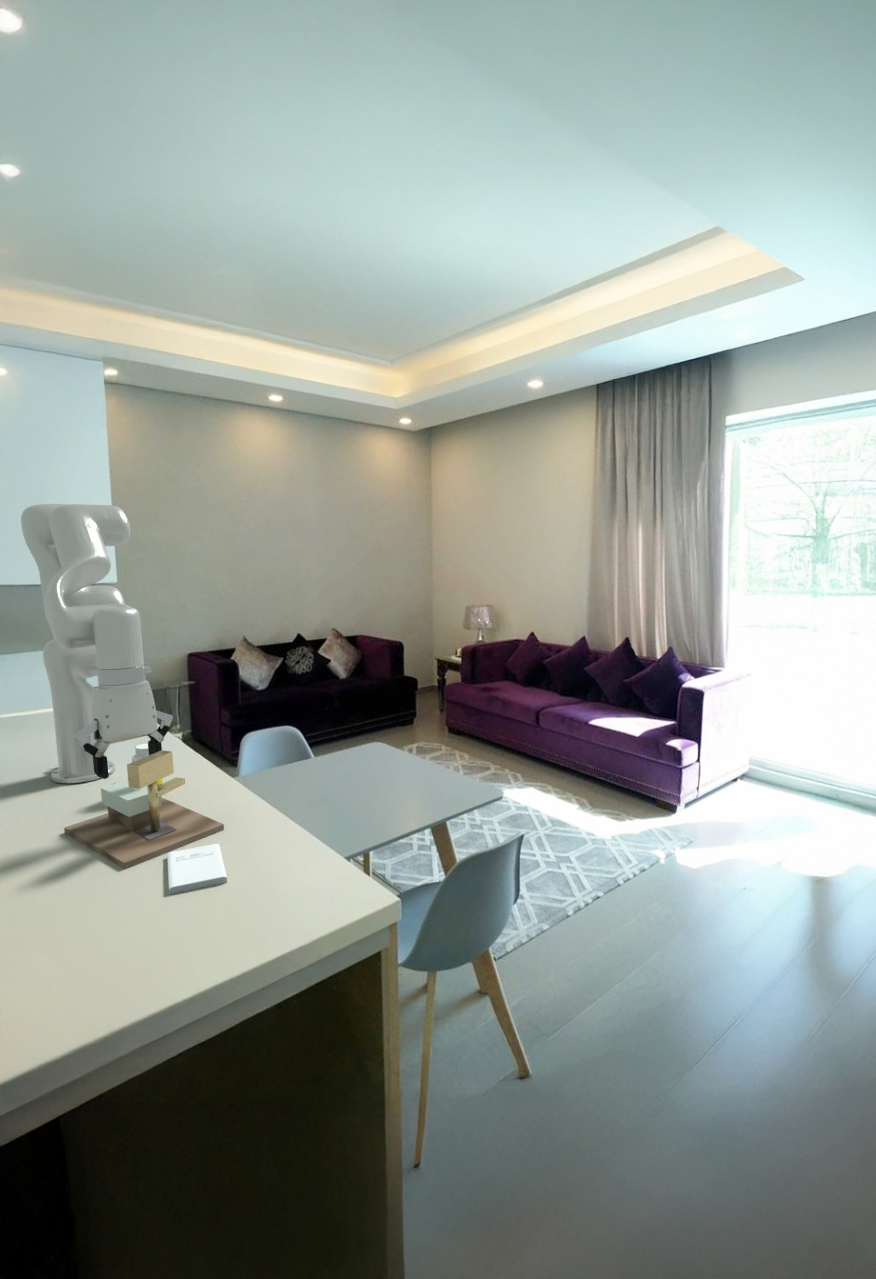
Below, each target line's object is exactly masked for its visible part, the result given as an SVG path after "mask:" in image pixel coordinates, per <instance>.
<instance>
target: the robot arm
mask: <svg viewBox="0 0 876 1279" xmlns="http://www.w3.org/2000/svg"><path fill="white" fill-rule="evenodd" d="M20 516H21V517H20V525H21V531H22V534H23V540H24V541H25V544H26V546H27V548H28V550H29V552H30V554H31V556H32V557H33V560H34V562H35V563H36V566H37V568H38V569H37V570H38V573H39V580H40V586H41V587H40V589H41V595H42V601H43V602H42V603H43V608H44V609H43V610H44V613H45V614H44V615H45V619H46V621H47V624H48V625H49V627H50V630H51V633H52V636H53V639H51V640H49V641H48V642H47V643H46V644H45V645H44V647H43V650H42V659H43V664H44V668H45V670H46V675H47V679H48V683H49V689H50V693H51V694H50V695H51V702H52V710H53V711H52V712H53V721H54V722H53V723H54V732H55V743H56V753H57V754H56V755H57V762H58V768H55V770H54V771H52V772H51V774H50V776H51V780H52V781H53V782H55V783H59V784H77V783H79V784H80V783H87V782H90V781H96V780H98V779H102V780H106V779H108V778H109V776H110V775H111V774H112V773H113V772H114V771H115V769H116V766H115V763H114V762H112V761H110V760H108V756H107V749H108V748H109V746H110V745H111V744H112V745H113V744H117V743H122V742H125V741H129V740H134V739H137V738H142V737H148V739H150V740H148V741H147V743H148V751H149V755H151V754H154V753H156V752H159V751H161V750H162V751H163V748H162V742H164V741H165V736H166V735H167V734H168V732H169V731H170V727H171V724H172V721H173V719H174V717H173V715H172V714H170V713H166V712H164V711H159V710H157V709H156V708H157V707H156V703H155V699H154V695H153V694H154V693H153V691H152V688H151V684H150V682H149V681H148V680H147V675H148V674H151V673H152V667H151V666H150V665H146V664H145V660H144V659H145V658H144V650H143V648H144V647H143V639H142V638H143V636H142V624H141V616H140V612H139V610H138V609H136V607H132V606H130V605H129V604H126V602H125V599H124V596H123V594H122V592H121V591H120V590H119V589H118V588H117V587H115V586H112V585H106V584H105V585H94V584H96V583H98V582H100V581H102V580H103V579H104V578H105V577H106V576H107V575H108V574H109V573H110V572H111V567H112V564H111V563H112V562H111V559H110V556H109V553H108V551H107V548H106V547H123V546H125V545H127V544H128V542H129V540H130V538H131V524H130V521H129V519H128V518H129V517H128V516H127V515H126V513H125V511H124V510H123V509H122V508H120V507H119V506H116V505H109V504H105V505H104V504H83V503H82V504H80V503H79V504H77V503H74V504H73V503H71V504H69V503H68V504H67V503H42V504H33V505H30V506H28V507H26V508H25V509H24V510H23V511H22V513H21V515H20ZM93 677H97V682H98V684H97V686H93V685H92V684H91V683H90V682H88V681H87V679H89V678H93ZM158 719H160V720H161V722H160V725H159V726H158Z"/></svg>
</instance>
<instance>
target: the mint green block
mask: <svg viewBox="0 0 876 1279" xmlns="http://www.w3.org/2000/svg"><path fill="white" fill-rule="evenodd" d="M100 795H101V804H102V805H104V806H106V807H107V808H108V807H110V808H112V809H114V810H116V811H118V812H120V813H122V814H124V815H126V816H128V817H131V816H134V815H136V814H139V813H142V812H145V811H148V810H149V802H148V789H147V786H145V787H143V788H141V789H137V788H130V787H129V784H128V779H127V780H124V781H120V782H117V783H114V784H110V785H105V786H102V787H100ZM161 797H162V796H160V797H158V801H159V807H160V806H162V803H161Z"/></svg>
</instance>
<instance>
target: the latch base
mask: <svg viewBox="0 0 876 1279" xmlns="http://www.w3.org/2000/svg"><path fill="white" fill-rule="evenodd" d="M161 803H162V806H160V807H159V814H160V829H158V830H151V828H150V815H149V810H148V811H145V812H142V813H139V814H136V815H134V816H131V817H128V816H126V815H124V814H122V813H120V812H118V811H116V810H114V809H112V808H110V807H108V806H107V813H104V814H101V815H98V816H96V817H92V818H89V819H87V820H83V821H80V822H76V823H74V824H71V825H68V826H65V827H63V830H64V833H65V834H66V835H67V836H69V837H71V838H73V839H74V840H75V841H78V842H79V843H81V844H83V845H84V846H86V847H87V848H89V849H90V850H93V851H95V852H96V853H97V854H99V855H101V856H102V857H104V858H106V859H107V860H109V861H112V863H115V864H116V865H118V866H119V867H121V868H123V869H124V870H126V869H129V868H131V867H134V866H136V865H139V864H142V863H144V862H147V861H149V860H152V859H154V858H157V857H159V856H161V855H164V854H167V853H169V852H172V851H173V850H174V851H175V850H176V849H180V848H181V847H183V846H186V845H189V844H191V843H194V842H196V841H199V840H202V839H204V838H206V837H208V835H209V836H211V835H214V834H216V833H219V832H221V831H223V829H224V830H225V824H224V823H222V822H219V821H217V820H214V819H212V818H210V817H208V816H206V815H203V814H200V813H198V812H196V811H195V810H191V809H190V808H187V807H185V806H182V805H180V804H178V803H175V802H174V801H171V800H169V799H166V798H164V797H162V796H161ZM218 831H219V832H218ZM213 833H214V834H213ZM198 839H199V840H198Z"/></svg>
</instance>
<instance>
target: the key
mask: <svg viewBox="0 0 876 1279" xmlns="http://www.w3.org/2000/svg"><path fill="white" fill-rule="evenodd" d="M126 769H127V770H126V772H127V780H128V784H129V787H130V788H137V789H141V788H143V787H145V786H147V789H148V802H149V815H150V828H151V830H158V829H160V814H159V801H158V797H160V796H161V797H162V796H164V795H166V794H168V793H169V792H172V791H174V790H176V789H178V788H179V787H182V786H184V785H185V784H186V778H185V777H184V778H183V777H178V776H177V777H174V778H172V779H169V780H168V781H166V782H163V784H161V785H159V786H157V781H158V780H160V779H162V778H163V779H164V778H166V777H168V776H170V775H173V774H174V773H175V772H174V771H175V770H174V760H173V751H170V750H163V749H162V750H161V751H159V752H156V753H154V754H151V755H149V756H147V757H144V758H142V759H139V760H137V761H134V762H132V761H131V762H129V763H127V764H126Z"/></svg>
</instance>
